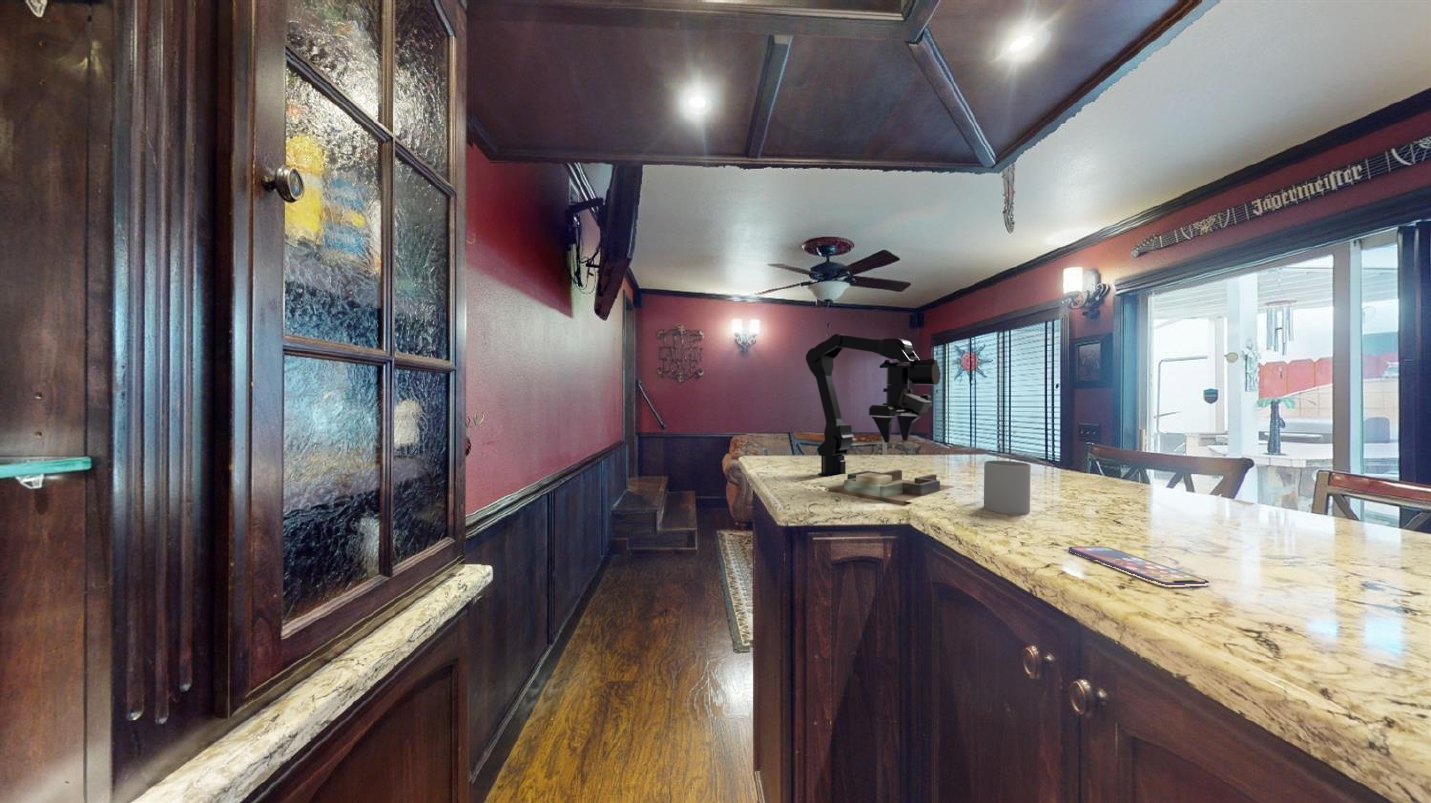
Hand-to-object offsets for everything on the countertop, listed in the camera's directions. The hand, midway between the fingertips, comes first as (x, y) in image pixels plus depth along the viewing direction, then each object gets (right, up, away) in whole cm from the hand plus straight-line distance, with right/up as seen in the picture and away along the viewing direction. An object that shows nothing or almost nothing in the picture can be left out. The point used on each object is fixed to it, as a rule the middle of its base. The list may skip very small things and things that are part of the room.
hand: (896, 441), depth 131 cm
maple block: (-11, -11, -15) cm, 22 cm away
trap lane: (-5, -12, -10) cm, 16 cm away
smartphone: (+10, -13, -63) cm, 65 cm away
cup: (+13, -12, -29) cm, 34 cm away
